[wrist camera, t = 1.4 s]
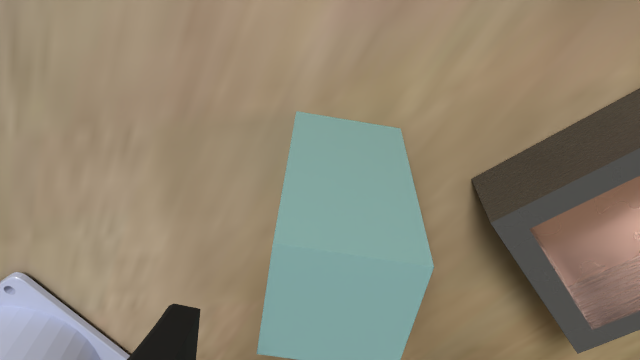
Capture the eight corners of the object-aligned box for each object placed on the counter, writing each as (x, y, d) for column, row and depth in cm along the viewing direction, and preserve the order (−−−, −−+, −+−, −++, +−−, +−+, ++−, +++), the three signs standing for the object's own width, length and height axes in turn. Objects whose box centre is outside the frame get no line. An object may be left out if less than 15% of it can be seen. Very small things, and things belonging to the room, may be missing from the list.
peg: (377, 213, 22) (395, 372, 15) (282, 199, 21) (256, 353, 14) (400, 128, 19) (433, 266, 13) (296, 111, 19) (273, 243, 12)
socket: (551, 301, 24) (577, 353, 21) (471, 178, 20) (490, 223, 18) (737, 221, 21) (792, 270, 19) (678, 67, 18) (736, 99, 15)
